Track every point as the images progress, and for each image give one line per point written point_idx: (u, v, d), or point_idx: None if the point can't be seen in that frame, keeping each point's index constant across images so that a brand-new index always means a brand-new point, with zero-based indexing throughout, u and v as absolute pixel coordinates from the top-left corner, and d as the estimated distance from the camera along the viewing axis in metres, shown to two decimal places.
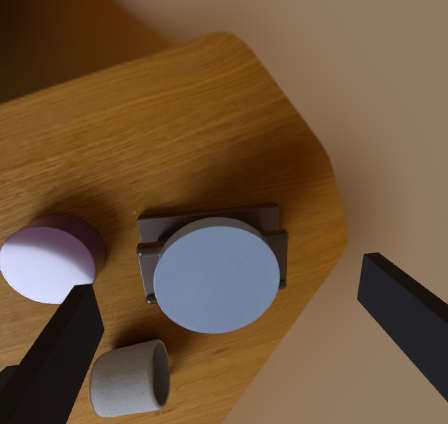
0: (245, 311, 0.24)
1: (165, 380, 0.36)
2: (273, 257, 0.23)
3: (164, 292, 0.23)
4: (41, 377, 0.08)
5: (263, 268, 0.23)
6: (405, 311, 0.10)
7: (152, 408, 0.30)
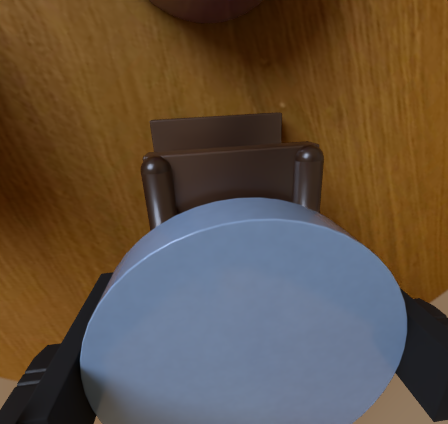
0: None
1: None
2: None
3: (241, 249, 0.07)
4: None
5: None
6: None
7: None
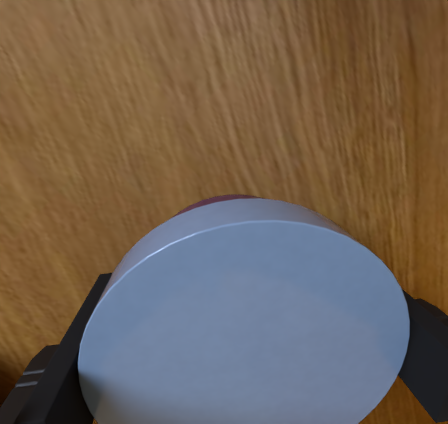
0: None
1: None
2: None
3: (242, 251, 0.07)
4: None
5: None
6: None
7: None
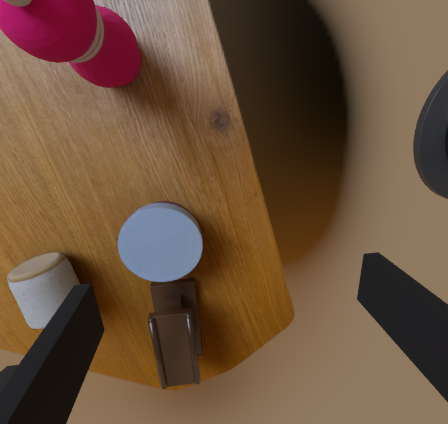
0: (138, 264, 0.35)
1: None
2: (181, 276, 0.37)
3: (153, 214, 0.33)
4: (41, 377, 0.08)
5: (173, 272, 0.36)
6: (405, 311, 0.10)
7: (35, 325, 0.35)
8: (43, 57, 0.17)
